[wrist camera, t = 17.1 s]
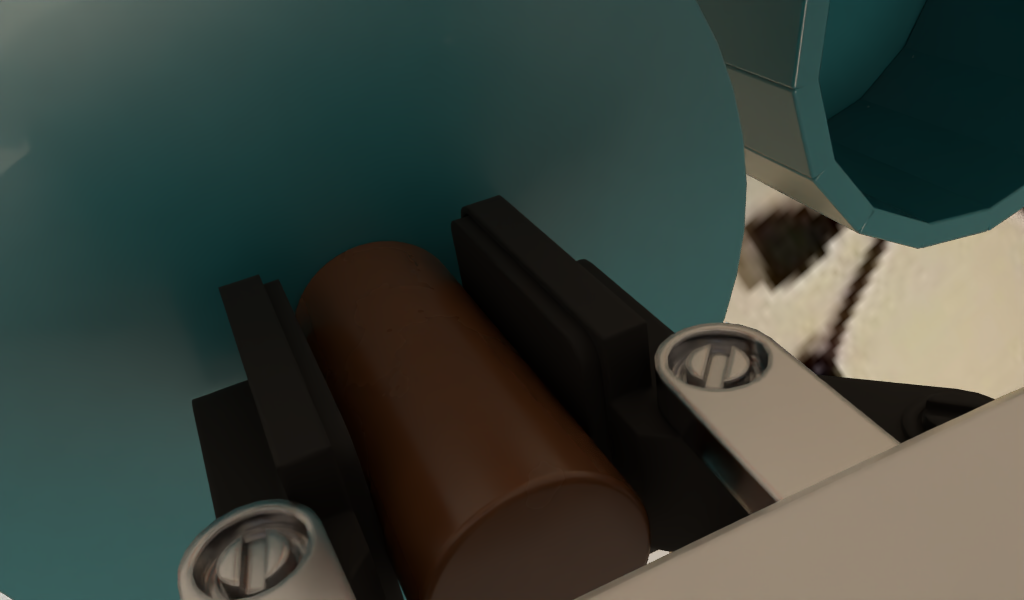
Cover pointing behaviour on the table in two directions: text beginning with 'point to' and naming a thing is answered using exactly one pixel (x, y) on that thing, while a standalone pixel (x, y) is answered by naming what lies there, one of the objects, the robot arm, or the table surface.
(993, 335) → the table surface
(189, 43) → the lid
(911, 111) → the pot
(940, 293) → the table surface
